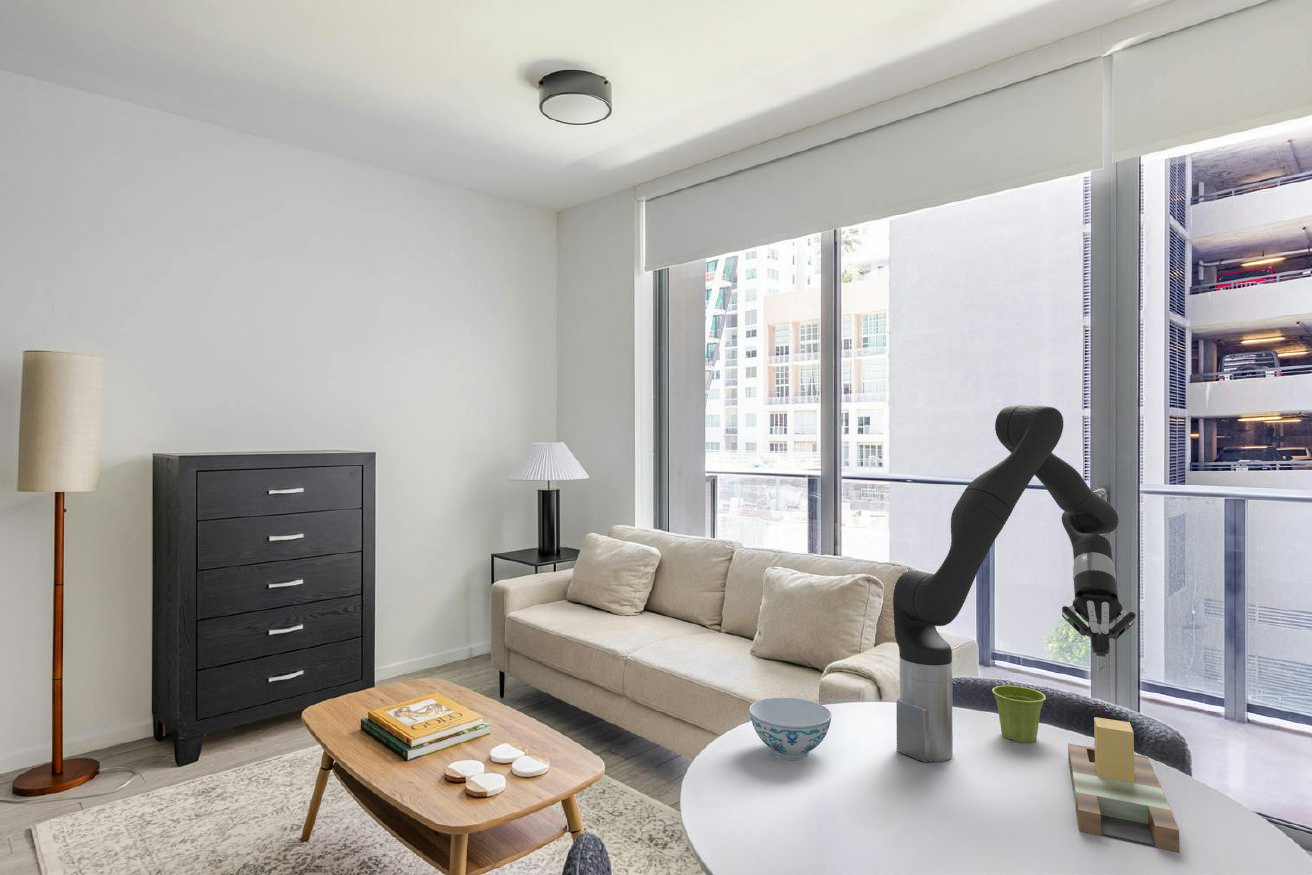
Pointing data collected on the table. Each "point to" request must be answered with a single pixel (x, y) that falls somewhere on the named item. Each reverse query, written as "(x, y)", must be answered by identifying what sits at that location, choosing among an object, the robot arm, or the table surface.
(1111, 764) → the ochre block
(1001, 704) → the plant pot
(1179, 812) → the table surface
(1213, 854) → the table surface
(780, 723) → the chinaware
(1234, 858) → the table surface
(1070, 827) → the table surface
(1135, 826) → the box
